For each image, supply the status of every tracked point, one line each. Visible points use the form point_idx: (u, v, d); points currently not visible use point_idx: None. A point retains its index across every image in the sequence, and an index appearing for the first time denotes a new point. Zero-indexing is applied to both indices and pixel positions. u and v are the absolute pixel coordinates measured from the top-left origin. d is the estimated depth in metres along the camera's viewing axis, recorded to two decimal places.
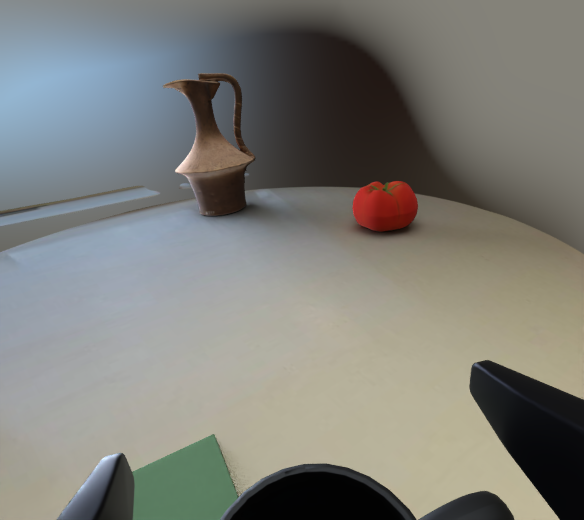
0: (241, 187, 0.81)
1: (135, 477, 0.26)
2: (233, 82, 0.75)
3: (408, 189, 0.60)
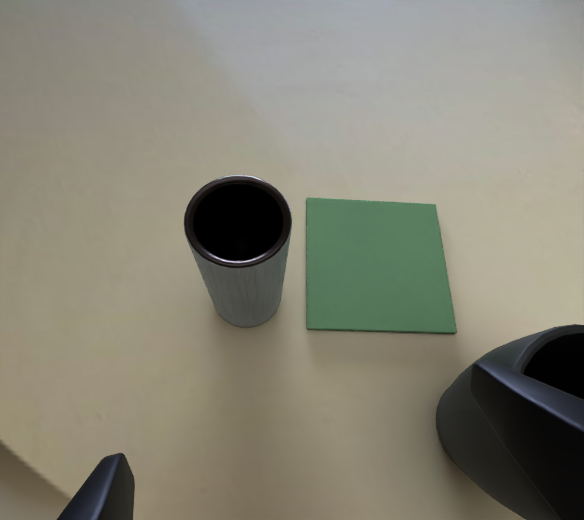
0: None
1: (361, 206, 0.28)
2: None
3: None
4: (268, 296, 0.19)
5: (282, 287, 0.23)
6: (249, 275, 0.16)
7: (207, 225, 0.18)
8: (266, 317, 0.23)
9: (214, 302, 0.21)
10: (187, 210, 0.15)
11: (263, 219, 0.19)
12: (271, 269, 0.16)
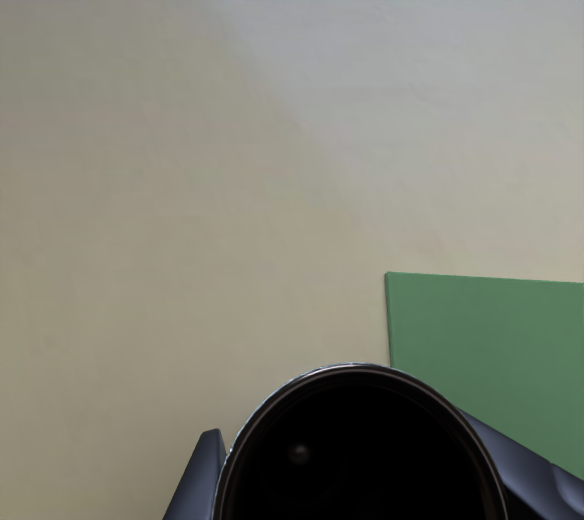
0: None
1: (473, 287, 0.18)
2: None
3: None
4: None
5: None
6: None
7: None
8: None
9: None
10: (219, 498, 0.05)
11: (377, 412, 0.08)
12: None
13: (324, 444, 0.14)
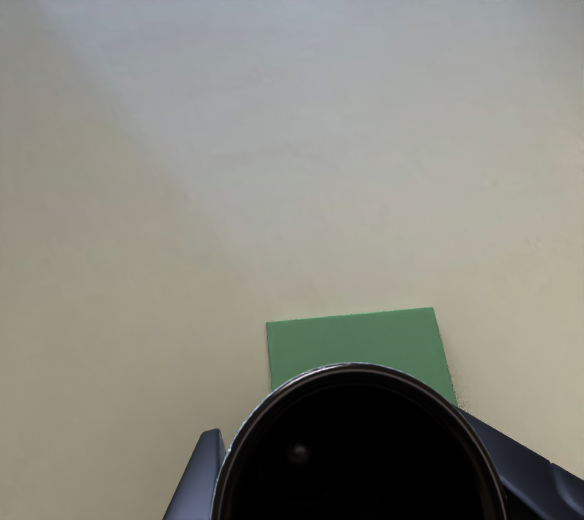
0: None
1: (339, 325, 0.21)
2: None
3: None
4: None
5: None
6: None
7: None
8: None
9: None
10: (218, 497, 0.05)
11: (376, 411, 0.08)
12: None
13: (324, 444, 0.14)
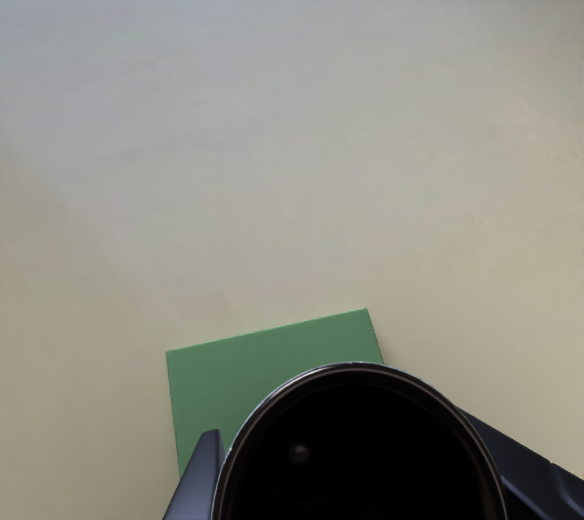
0: None
1: (256, 343, 0.18)
2: None
3: None
4: None
5: None
6: None
7: None
8: None
9: None
10: (219, 497, 0.05)
11: (376, 411, 0.08)
12: None
13: (324, 444, 0.14)
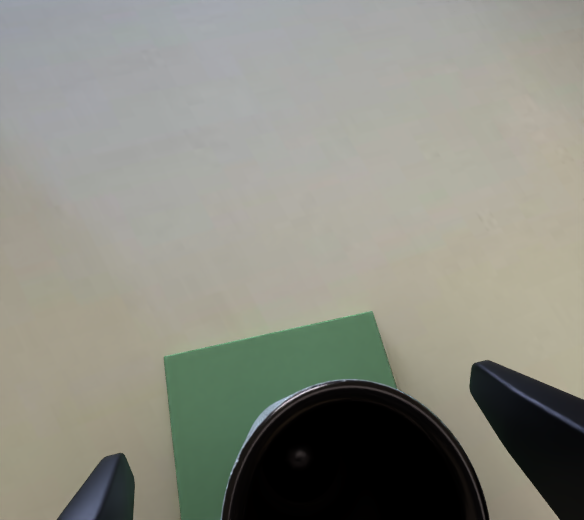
0: None
1: (257, 348, 0.17)
2: None
3: None
4: None
5: None
6: None
7: None
8: None
9: None
10: (227, 504, 0.06)
11: (370, 421, 0.09)
12: None
13: (323, 448, 0.15)
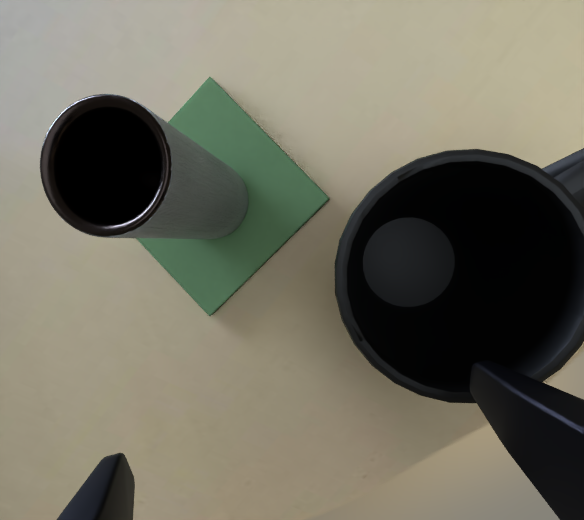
0: None
1: None
2: None
3: None
4: (217, 206, 0.16)
5: (234, 177, 0.19)
6: (165, 218, 0.13)
7: (94, 182, 0.14)
8: (240, 214, 0.21)
9: None
10: (46, 193, 0.12)
11: (147, 132, 0.14)
12: (185, 194, 0.13)
13: None
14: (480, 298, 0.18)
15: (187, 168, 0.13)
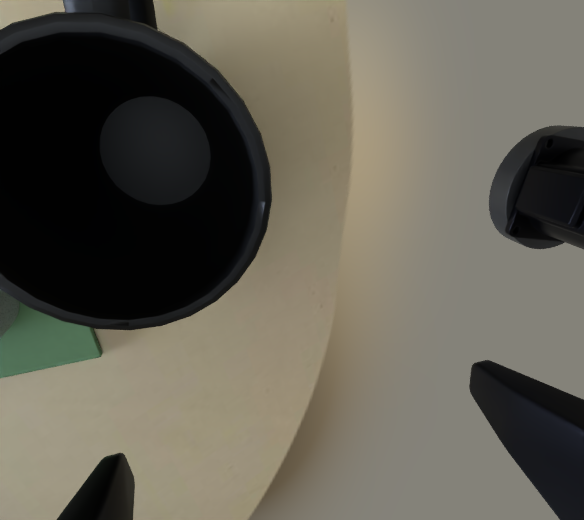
0: None
1: None
2: None
3: None
4: None
5: None
6: None
7: None
8: None
9: None
10: None
11: None
12: None
13: None
14: (218, 129, 0.15)
15: None
